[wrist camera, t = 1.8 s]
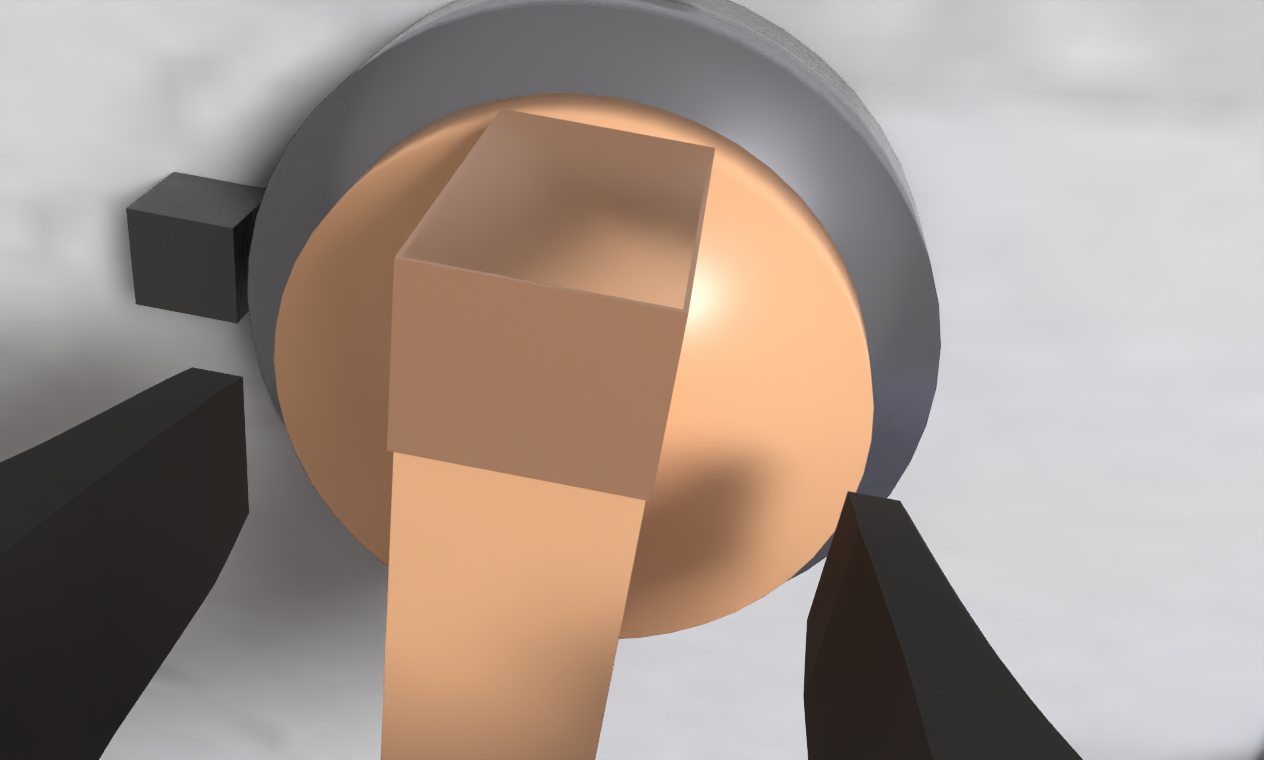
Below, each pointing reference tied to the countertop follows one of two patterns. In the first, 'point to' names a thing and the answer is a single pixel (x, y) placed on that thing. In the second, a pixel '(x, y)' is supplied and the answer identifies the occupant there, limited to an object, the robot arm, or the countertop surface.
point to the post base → (596, 65)
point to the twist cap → (567, 403)
